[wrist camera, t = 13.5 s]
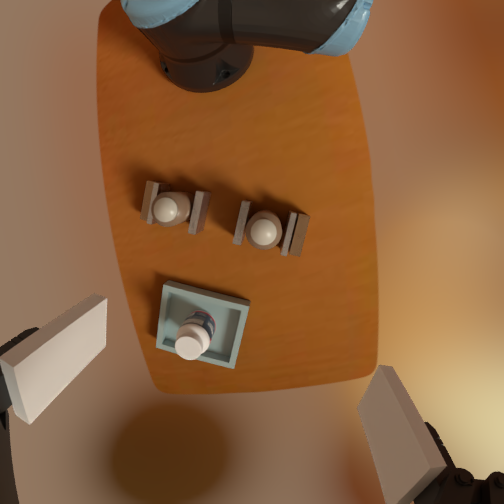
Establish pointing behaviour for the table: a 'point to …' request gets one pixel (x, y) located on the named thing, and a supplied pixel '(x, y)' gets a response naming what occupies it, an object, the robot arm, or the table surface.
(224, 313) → the tray
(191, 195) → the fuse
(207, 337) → the pill bottle
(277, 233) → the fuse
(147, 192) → the clip rail
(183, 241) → the table surface
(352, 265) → the table surface
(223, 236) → the table surface
